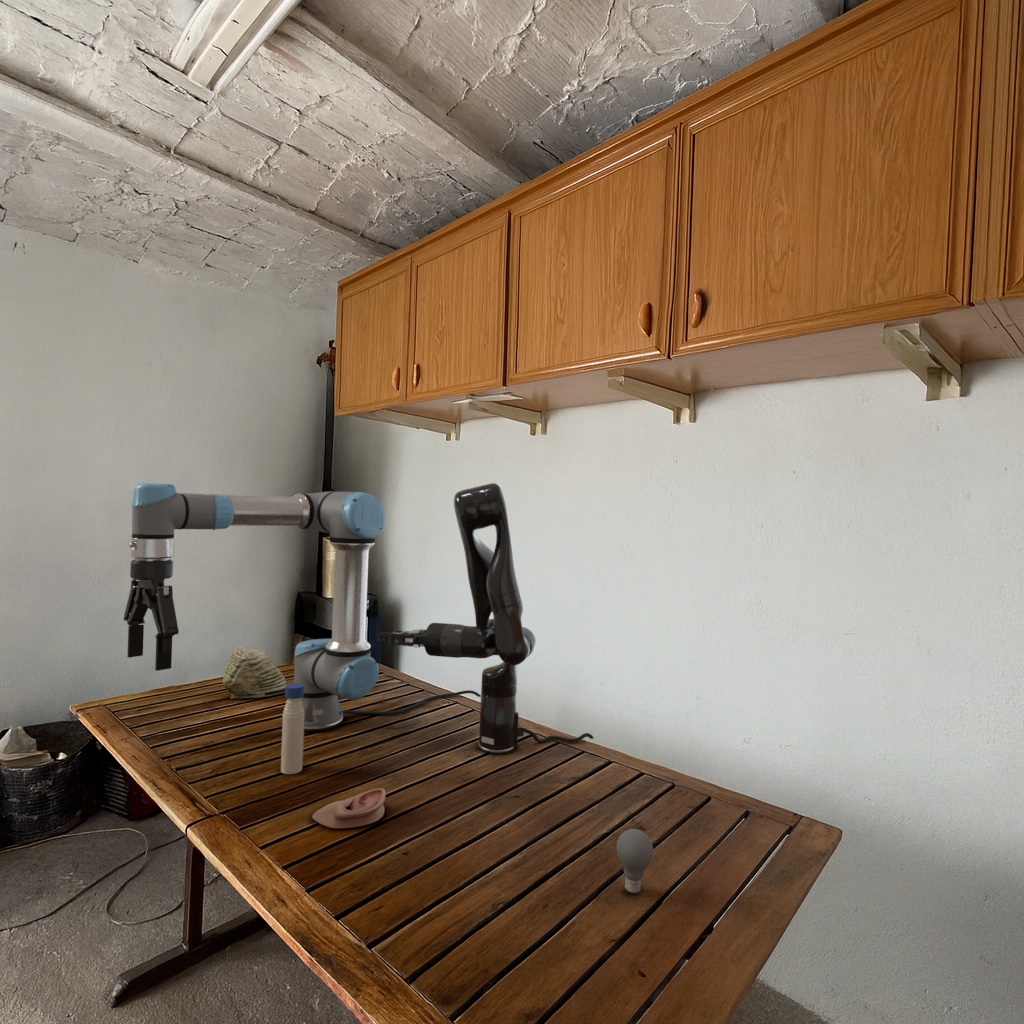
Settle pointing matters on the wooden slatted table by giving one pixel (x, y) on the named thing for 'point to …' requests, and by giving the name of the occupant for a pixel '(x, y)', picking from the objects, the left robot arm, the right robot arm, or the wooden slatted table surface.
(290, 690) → the cap
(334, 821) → the anatomical model
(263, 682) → the fossil
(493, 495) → the right robot arm
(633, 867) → the light bulb
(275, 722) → the wooden slatted table surface
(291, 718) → the bottle
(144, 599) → the left robot arm
